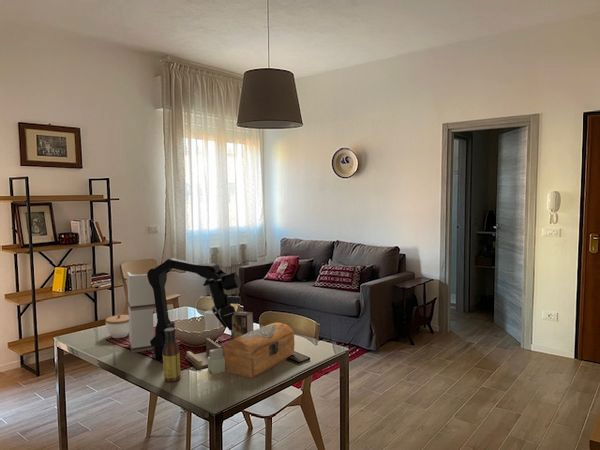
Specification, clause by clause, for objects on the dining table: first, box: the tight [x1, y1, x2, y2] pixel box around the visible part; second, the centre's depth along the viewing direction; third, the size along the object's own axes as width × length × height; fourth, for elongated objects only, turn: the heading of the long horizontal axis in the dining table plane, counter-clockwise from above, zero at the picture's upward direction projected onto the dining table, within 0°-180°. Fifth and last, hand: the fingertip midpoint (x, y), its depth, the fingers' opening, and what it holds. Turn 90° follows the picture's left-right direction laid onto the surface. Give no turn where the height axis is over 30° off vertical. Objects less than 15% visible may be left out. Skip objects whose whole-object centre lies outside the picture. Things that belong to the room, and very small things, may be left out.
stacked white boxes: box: [126, 271, 156, 354], centre depth 210 cm, size 11×11×35 cm
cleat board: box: [185, 337, 223, 370], centre depth 194 cm, size 12×14×7 cm
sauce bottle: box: [162, 327, 182, 383], centre depth 174 cm, size 7×6×20 cm
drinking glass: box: [204, 309, 220, 343], centre depth 217 cm, size 7×7×15 cm
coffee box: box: [230, 310, 255, 341], centre depth 210 cm, size 9×6×16 cm
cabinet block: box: [207, 347, 226, 375], centre depth 183 cm, size 5×6×8 cm
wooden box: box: [222, 322, 295, 379], centre depth 191 cm, size 30×16×14 cm, turn 146°
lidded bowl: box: [105, 313, 129, 339], centre depth 228 cm, size 13×13×11 cm
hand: (228, 328), depth 191 cm, fingers open, 9 cm apart
